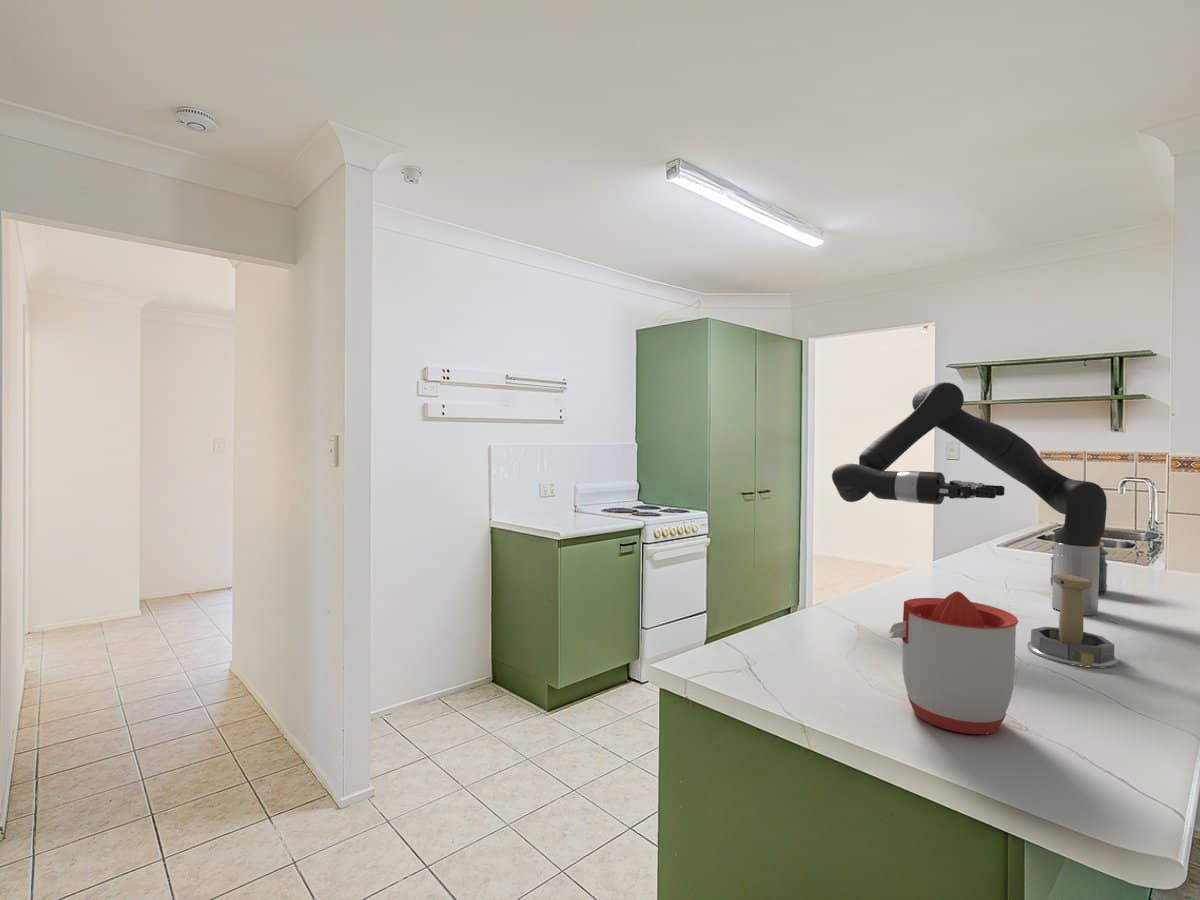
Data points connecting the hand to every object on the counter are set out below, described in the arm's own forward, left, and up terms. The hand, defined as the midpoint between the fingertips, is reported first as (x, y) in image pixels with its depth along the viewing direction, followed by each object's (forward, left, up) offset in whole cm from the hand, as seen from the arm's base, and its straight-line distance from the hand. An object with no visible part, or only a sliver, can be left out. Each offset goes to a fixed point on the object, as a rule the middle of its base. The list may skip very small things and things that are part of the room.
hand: (999, 492), depth 133 cm
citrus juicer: (+47, -19, -32) cm, 60 cm away
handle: (+7, +11, -32) cm, 34 cm away
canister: (-57, +35, -32) cm, 74 cm away
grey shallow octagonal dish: (+7, +11, -32) cm, 35 cm away
